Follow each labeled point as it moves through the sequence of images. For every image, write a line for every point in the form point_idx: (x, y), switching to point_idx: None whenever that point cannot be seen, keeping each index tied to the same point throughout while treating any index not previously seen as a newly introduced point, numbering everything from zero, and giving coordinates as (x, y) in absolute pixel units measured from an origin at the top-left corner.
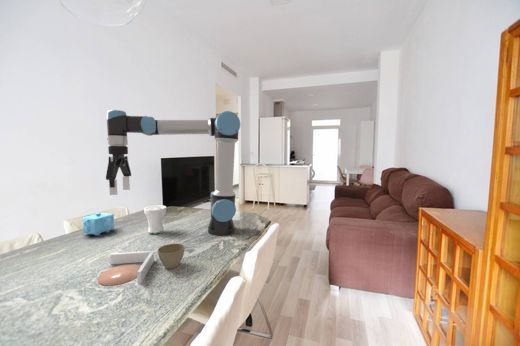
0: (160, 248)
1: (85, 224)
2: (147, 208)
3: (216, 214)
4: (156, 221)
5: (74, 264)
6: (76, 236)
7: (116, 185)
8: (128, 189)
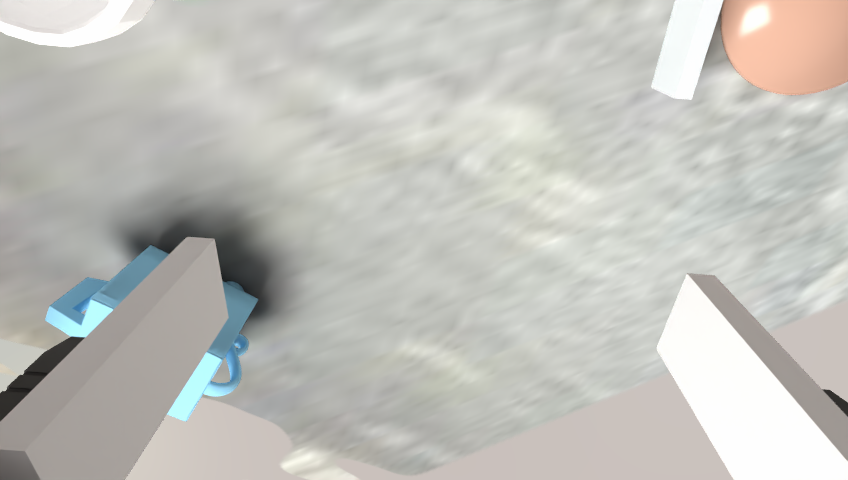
0: None
1: (240, 374)
2: (19, 19)
3: None
4: None
5: (594, 246)
6: (248, 366)
7: (805, 386)
8: (212, 251)
